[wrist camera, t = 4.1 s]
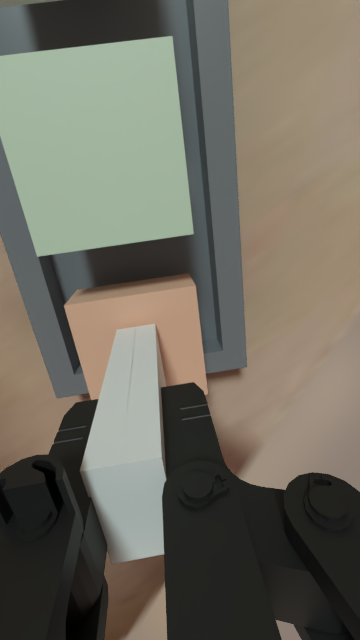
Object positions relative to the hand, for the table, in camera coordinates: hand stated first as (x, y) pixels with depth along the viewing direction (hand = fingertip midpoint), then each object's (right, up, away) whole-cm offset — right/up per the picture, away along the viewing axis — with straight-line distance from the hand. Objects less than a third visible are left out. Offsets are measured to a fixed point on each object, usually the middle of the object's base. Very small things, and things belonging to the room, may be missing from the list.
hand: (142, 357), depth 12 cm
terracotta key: (0, +1, +4) cm, 4 cm away
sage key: (-1, +8, 0) cm, 8 cm away
